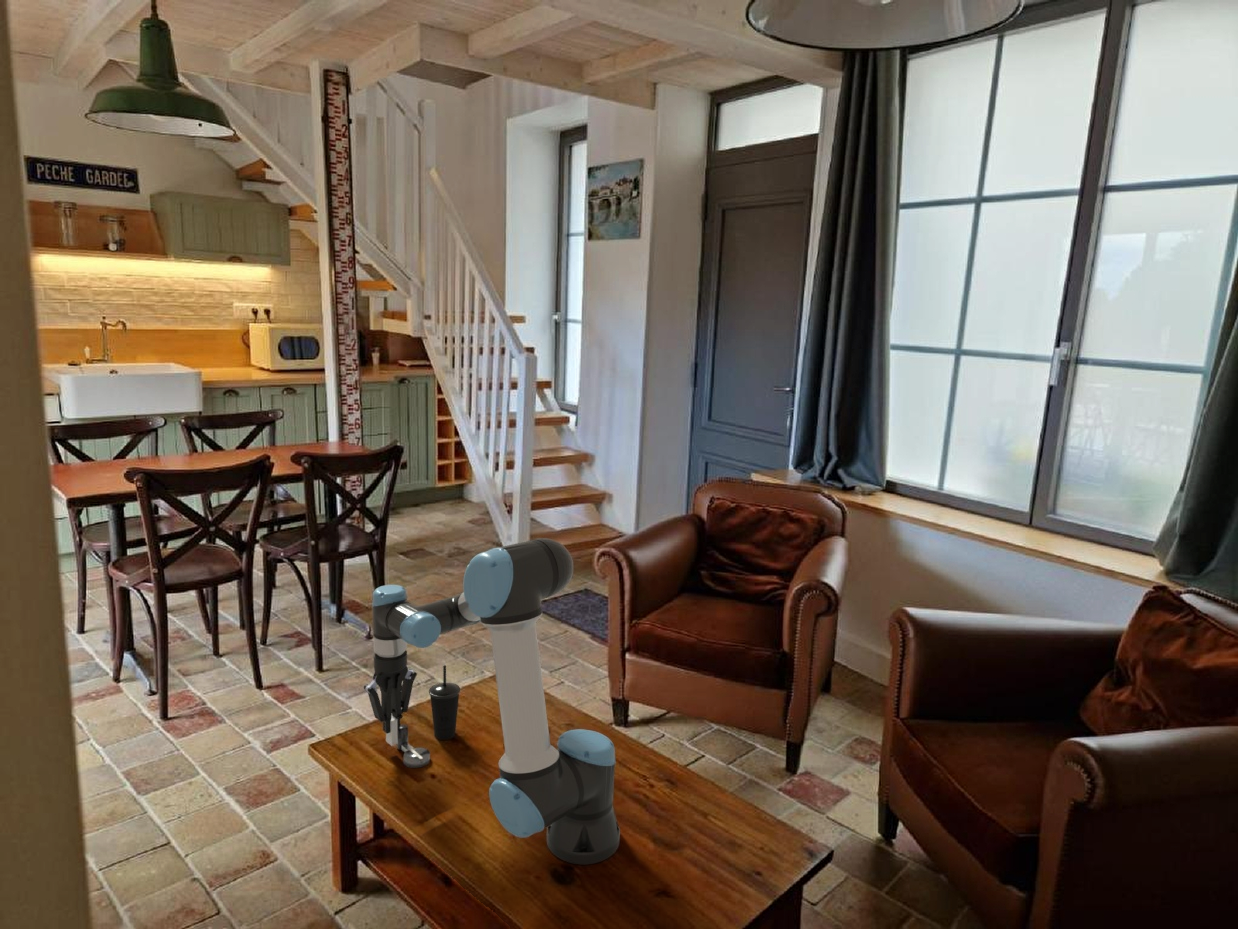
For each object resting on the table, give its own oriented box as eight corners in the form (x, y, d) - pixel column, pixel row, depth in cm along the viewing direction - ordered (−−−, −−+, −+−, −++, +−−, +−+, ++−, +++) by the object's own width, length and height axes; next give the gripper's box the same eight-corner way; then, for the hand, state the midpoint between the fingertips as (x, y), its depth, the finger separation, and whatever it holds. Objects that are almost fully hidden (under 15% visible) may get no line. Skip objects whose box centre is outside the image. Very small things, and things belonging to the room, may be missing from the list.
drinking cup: (426, 735, 201) (425, 661, 197) (456, 729, 204) (456, 657, 200) (432, 750, 194) (432, 675, 190) (463, 744, 197) (463, 670, 193)
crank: (434, 761, 187) (434, 740, 186) (411, 771, 183) (411, 749, 182) (411, 741, 195) (410, 721, 194) (388, 750, 191) (388, 729, 190)
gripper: (405, 638, 192) (406, 727, 196) (356, 653, 182) (358, 746, 187) (423, 648, 187) (424, 739, 191) (373, 664, 177) (375, 760, 182)
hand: (391, 742), depth 189 cm, fingers closed
